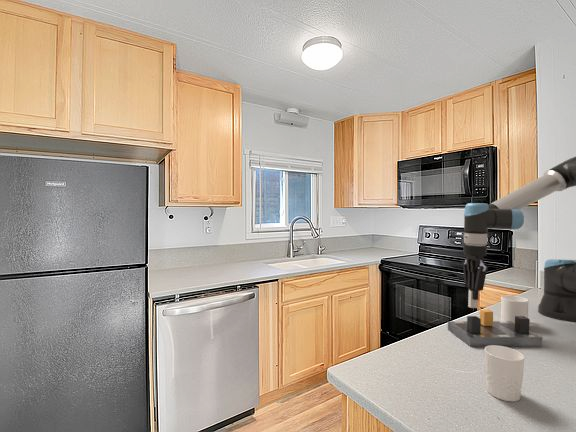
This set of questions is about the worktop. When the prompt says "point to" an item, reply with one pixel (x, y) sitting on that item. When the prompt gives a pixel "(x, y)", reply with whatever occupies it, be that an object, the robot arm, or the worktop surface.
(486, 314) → the toggle
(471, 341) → the panel
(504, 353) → the white cup
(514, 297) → the mug
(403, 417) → the worktop surface
